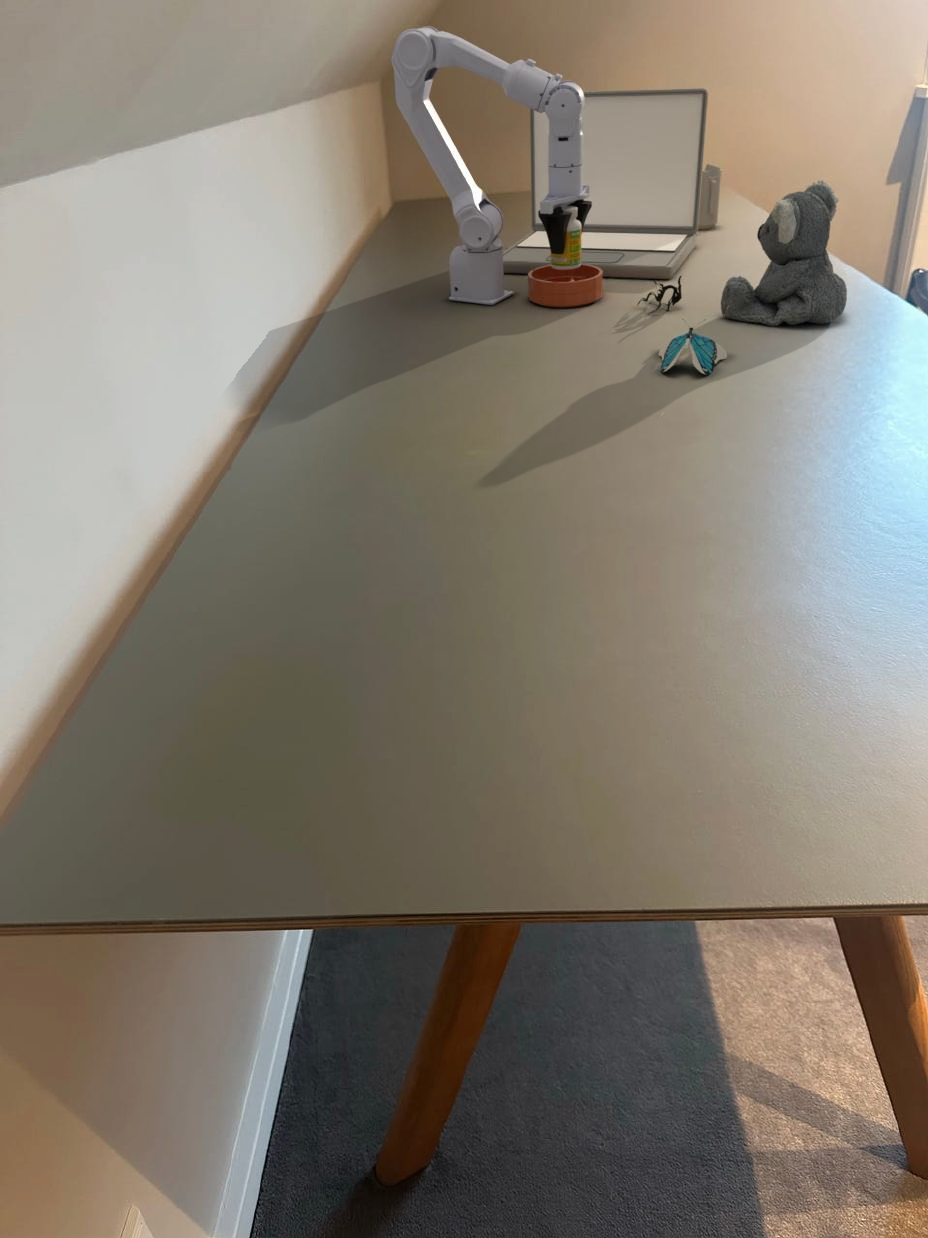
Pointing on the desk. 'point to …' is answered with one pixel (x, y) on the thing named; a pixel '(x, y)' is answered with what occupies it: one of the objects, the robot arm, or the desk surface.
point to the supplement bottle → (570, 244)
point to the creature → (675, 297)
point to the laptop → (627, 182)
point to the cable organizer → (709, 197)
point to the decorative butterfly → (693, 351)
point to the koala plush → (792, 265)
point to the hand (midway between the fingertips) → (565, 249)
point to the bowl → (565, 286)
